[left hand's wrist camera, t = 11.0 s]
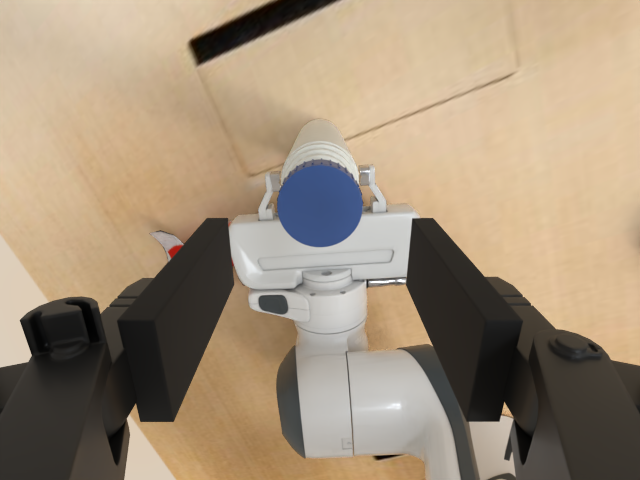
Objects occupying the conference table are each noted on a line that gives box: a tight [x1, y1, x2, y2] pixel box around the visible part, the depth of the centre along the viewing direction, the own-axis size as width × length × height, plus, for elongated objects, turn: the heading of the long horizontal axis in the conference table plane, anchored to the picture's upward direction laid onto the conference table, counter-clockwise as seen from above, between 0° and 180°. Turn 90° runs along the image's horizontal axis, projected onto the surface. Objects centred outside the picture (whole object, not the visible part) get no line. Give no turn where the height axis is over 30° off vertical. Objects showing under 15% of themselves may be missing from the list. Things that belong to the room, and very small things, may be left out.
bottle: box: [281, 119, 359, 185], centre depth 32 cm, size 5×5×25 cm
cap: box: [277, 158, 363, 247], centre depth 20 cm, size 4×4×2 cm
